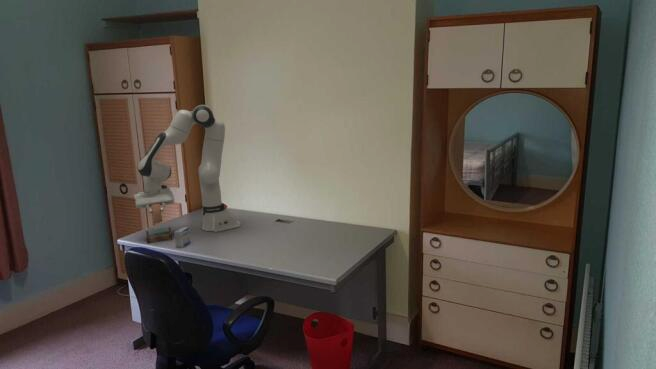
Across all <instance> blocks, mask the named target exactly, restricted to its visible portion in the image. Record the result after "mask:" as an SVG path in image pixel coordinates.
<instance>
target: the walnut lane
mask: <svg viewBox="0 0 656 369" xmlns="http://www.w3.org/2000/svg"><path fill="white" fill-rule="evenodd" d="M145 232H146V233H145V234H146V241H147V244H152V243H158V242H159V243H160V242H166V241H171V240H173V233H172V230H171V227H168V234H167V233H166V234H162V235H161V234H160V235H157V236H156V235H155V236H149V234H150V233H149V230H146V231H145Z"/></svg>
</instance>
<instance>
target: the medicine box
mask: <svg viewBox="0 0 656 369" xmlns="http://www.w3.org/2000/svg"><path fill="white" fill-rule="evenodd" d="M173 234H174V242H175V248H185V247H186V246H187V245H188V244H190V243H191V236H190V228H189V226H188V227H186V226H184V227H180V228H178V229H177V230H175V231H174V232H173Z"/></svg>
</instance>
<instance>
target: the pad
mask: <svg viewBox="0 0 656 369" xmlns="http://www.w3.org/2000/svg"><path fill="white" fill-rule="evenodd" d="M167 233H168V230H167V226H166V227H165V226H164V227H159V228H153V234H154V235H155V236H156V235H161V234H167Z"/></svg>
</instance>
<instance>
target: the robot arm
mask: <svg viewBox="0 0 656 369" xmlns="http://www.w3.org/2000/svg"><path fill="white" fill-rule="evenodd" d="M196 124H198V125H199V126H202V127H204V130H205V131H204V132H205V133H204V137H203V138H204V139H203V145H202V151H201V160H200V165H199V167H198V169H197V170H198V178H199V185H200V186H199V187H200V194H201V195H200V196H201V203H202V205H201V213H202V226H201V227H202V228H201V229H202V230H203V231H206V232H214V233H217V232H222V231H227V230H231V229H236V228H239V227H241V226H242V223H241V221H240V220H238V219H237V216H236V215H235V214H234V213H233V212H232V211H230V210H228V209H227V208H228V205H227V204H225V203H223V202H222V192H221V186H220V185H221V184H220V179H219V178H220V177H221V176H220V175H221V169H222V168H221V167H222V158H223V157H222V156H223V148H224V143H225V136H226V125H225V123H224V122H223V121H221V120H220V119H216V118H215V116H214V113H213V110H212V109H211V107H209V106H208V105H205V104H200V105H197V106H196V107H195V108H194V109H192V110H191V111H189V110H187V109H180V110H178V111H177V112H176V114H175V115H174V116H173V118H172V120H171V122H170V124H169V127H168V128H167V129H166V130H165V131H163V132H161V133H159V134H158V135H157V137H156V138H155V140H154V141H153V142H152V144H151V145H150V146H149V149H148V150H147V151H146V152H145V154H144V156H143V157H142V158H141V159H140V160H139V162H138V163H137V166H136V168H137V171H138V173H139V175H140V176H141V177H142V178H143V179H142V180H143V183H144V187H143V188H144V191H142V192H136V193H134V195H133V199H134V200H135V202H134V203H135V208H136V209H144V208H146V209H147V211H149V214H152V207H151V204H156V203H160V208H161V213H162V212H165V211H164V209H165V207H166V206H167V205H172V204H174V203H175V197H174V193H173V191H172V190H171V187H170V185H166V184H162V183H164V182H166V180H168V179H170V178H171V176H172V167H171V165H170V164H168V163H165V162H162V161H158V160H155V159H156V157H157V156H158V155H159V153H160V151H161V150H162V149H163V148H164V147H167V146H174V145H180V144H183V143H184V142H185V141H186V140H187V138H188V137H189V135H190V132H191V130H192V128H193V127H194V125H196Z"/></svg>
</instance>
